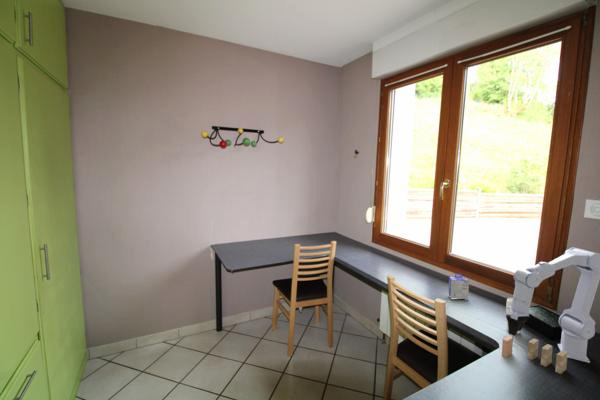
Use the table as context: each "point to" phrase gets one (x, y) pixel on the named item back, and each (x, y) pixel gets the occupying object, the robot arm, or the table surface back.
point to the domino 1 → (532, 349)
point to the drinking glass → (509, 302)
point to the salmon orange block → (507, 346)
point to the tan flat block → (546, 355)
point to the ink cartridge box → (458, 287)
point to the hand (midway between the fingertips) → (514, 332)
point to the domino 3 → (561, 362)
